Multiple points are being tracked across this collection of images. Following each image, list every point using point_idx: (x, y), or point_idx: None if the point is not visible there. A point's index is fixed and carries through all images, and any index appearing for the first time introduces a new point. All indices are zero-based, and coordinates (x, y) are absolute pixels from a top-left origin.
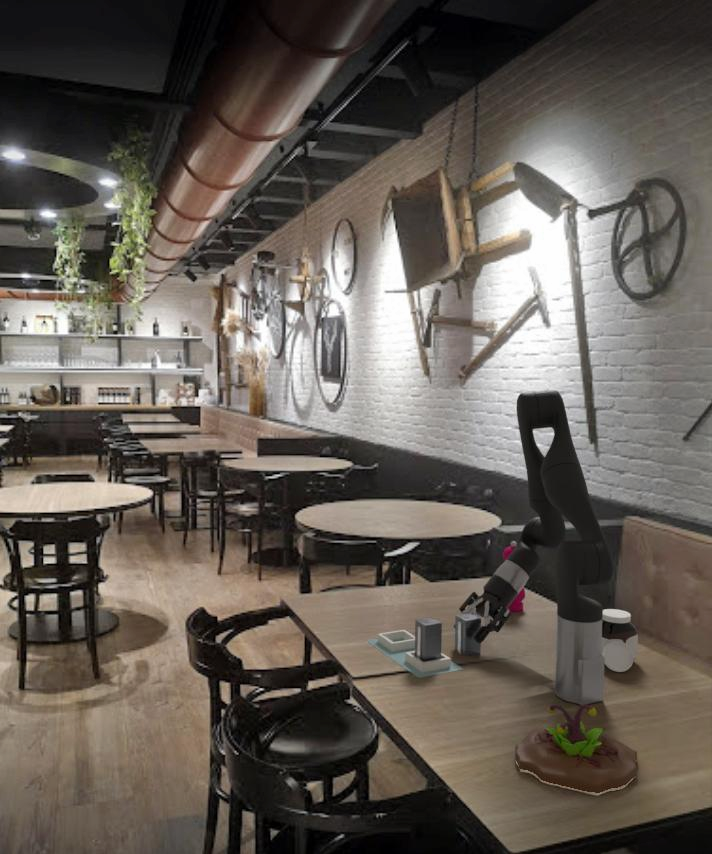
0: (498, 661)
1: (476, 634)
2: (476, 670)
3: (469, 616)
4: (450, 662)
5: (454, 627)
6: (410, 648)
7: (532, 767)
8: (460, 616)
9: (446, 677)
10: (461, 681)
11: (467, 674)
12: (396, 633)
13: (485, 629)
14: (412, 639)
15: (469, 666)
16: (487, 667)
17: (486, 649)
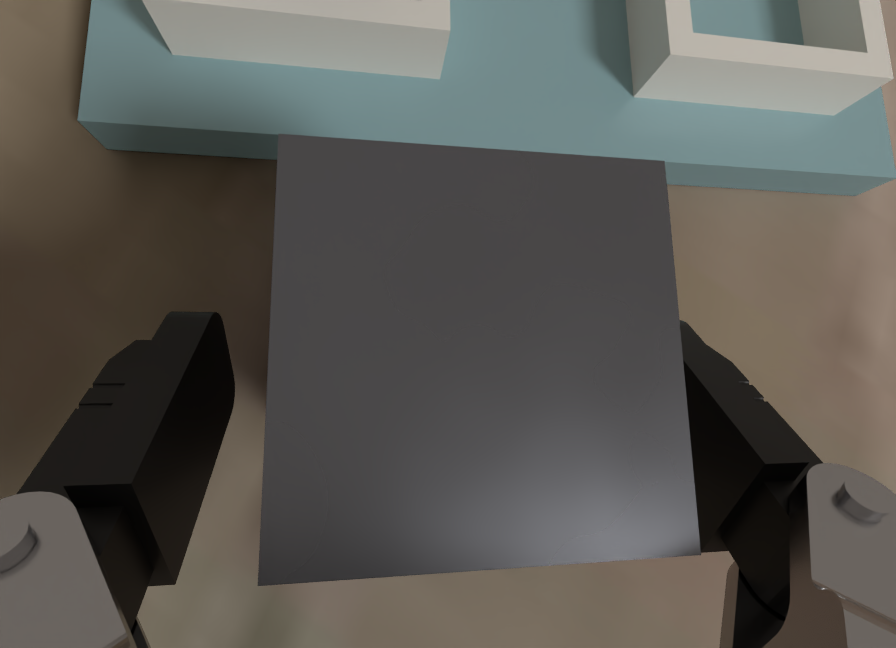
0: (219, 585)
1: (178, 340)
2: (146, 293)
3: (506, 388)
4: (156, 21)
5: None
6: (629, 27)
7: None
8: (574, 208)
9: None
10: (24, 70)
11: (114, 185)
12: (848, 8)
13: (33, 480)
14: (682, 5)
15: (245, 291)
16: None
17: (501, 643)
